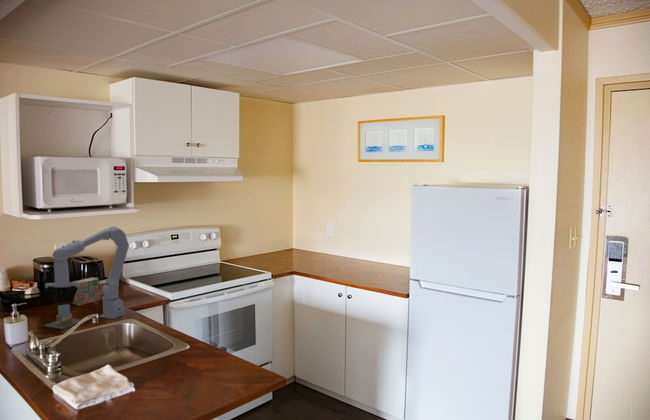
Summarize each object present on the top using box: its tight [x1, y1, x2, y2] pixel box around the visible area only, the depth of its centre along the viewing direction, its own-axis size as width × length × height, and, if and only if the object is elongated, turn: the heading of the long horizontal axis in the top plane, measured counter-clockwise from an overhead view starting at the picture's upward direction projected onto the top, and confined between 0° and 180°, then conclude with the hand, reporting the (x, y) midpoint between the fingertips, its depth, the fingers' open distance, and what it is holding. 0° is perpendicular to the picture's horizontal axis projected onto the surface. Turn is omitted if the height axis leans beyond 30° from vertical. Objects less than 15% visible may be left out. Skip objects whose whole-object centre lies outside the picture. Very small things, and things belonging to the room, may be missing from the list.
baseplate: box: [43, 317, 82, 330], centre depth 218 cm, size 12×12×1 cm
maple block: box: [56, 312, 73, 325], centre depth 218 cm, size 4×4×4 cm
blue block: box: [57, 304, 71, 317], centre depth 217 cm, size 4×4×4 cm
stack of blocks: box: [71, 276, 107, 306], centre depth 256 cm, size 21×6×12 cm, turn 145°
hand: (63, 302), depth 217 cm, fingers open, 7 cm apart
